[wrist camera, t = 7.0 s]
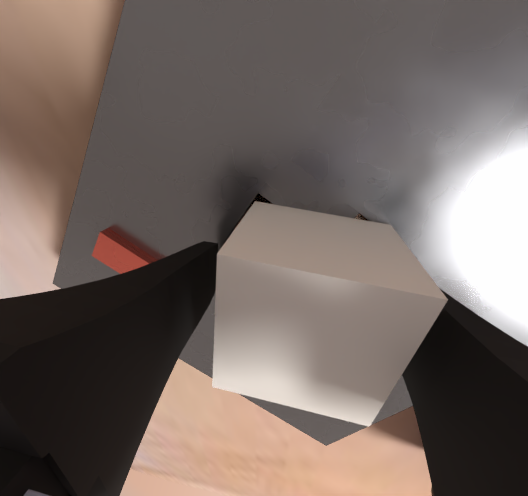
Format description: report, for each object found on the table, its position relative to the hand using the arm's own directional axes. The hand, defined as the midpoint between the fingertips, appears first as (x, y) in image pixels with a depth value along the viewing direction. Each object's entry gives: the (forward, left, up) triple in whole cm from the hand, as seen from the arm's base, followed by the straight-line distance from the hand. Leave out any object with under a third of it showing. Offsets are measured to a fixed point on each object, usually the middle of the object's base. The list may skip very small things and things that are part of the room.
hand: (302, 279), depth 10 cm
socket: (0, 0, -3) cm, 3 cm away
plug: (0, 0, -3) cm, 3 cm away
